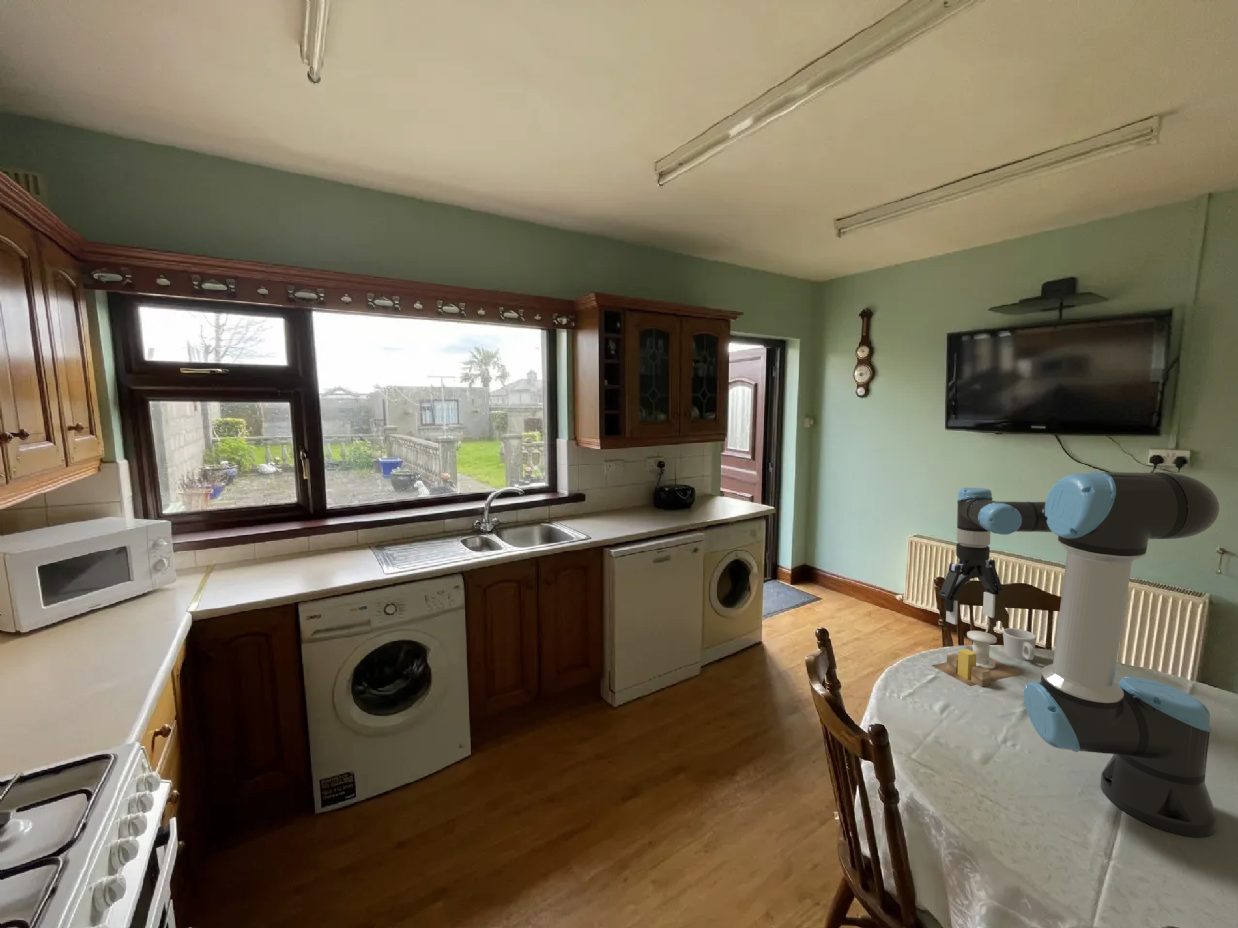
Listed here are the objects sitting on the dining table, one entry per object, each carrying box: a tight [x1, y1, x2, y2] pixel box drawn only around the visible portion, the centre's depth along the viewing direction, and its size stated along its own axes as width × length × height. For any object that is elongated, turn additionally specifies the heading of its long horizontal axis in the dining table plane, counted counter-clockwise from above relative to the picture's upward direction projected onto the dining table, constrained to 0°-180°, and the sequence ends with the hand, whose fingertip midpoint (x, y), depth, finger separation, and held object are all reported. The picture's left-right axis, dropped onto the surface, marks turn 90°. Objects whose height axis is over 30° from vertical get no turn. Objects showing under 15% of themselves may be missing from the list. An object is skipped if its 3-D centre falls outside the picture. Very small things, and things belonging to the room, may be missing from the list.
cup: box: [1002, 627, 1037, 661], centre depth 151 cm, size 11×8×8 cm
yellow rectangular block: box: [957, 648, 977, 679], centre depth 142 cm, size 3×3×7 cm
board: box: [931, 653, 1024, 688], centre depth 145 cm, size 13×20×5 cm, turn 107°
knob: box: [966, 630, 997, 670], centre depth 148 cm, size 7×7×9 cm
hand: (970, 619), depth 140 cm, fingers open, 13 cm apart
